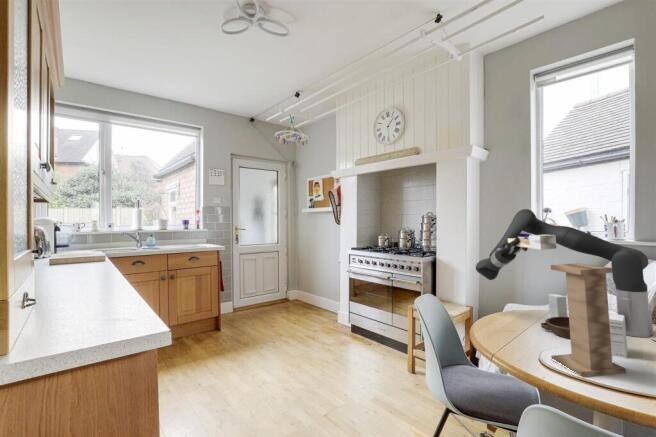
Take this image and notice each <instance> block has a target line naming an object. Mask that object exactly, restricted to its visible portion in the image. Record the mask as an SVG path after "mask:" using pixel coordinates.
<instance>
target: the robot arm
mask: <svg viewBox="0 0 656 437" xmlns="http://www.w3.org/2000/svg"><path fill="white" fill-rule="evenodd" d="M522 232H524V233H527V234H530V235H531V234H532V235H556V245H559V246H562V247H564V248H567V249H570V250H571V251H574V252H577V253H582V254H585V255H591V256H594V257H599V258H602V259H604V260H607V261H610V262H611V264H610V265H611V266H610V267H611V268H612V273H611V274H612V280H613V283H614V286H615V296H616V299H615V300H616V309H617V314H618V315H624V316H625V326H626V336H631V337H637V338H650V337H651V336H653V335H654V330H653V329H654V328H653V326H654V325H653V315H652V314H653V312H652V310H651V309H650V308H649V305H650V304H649V291H648V284H647V283H646V282H645V278H644V269H646V268H647V267H648V265H649V258H648V257H647V255H646V254H645V253H643V251H641V250H639V249H636V248H631V247H628V246H624V245H620V244H617V243H614V242H611V241H607V240H604V239H602V238H600V237H598V236H596V235H593V234H590V233H588V232H585V231H583V230H579V229H578V228H577V229H576V228H574V227H571V226H568V225H567V226H566V225H554V224H549V223H547V222H545V221H542V220H540V219H538V218H537V215H536V214H535V212H533V211H532V210H531V209H528V208H527V209H526V208H525V209H524V208H523V209H521V210H519V211H517V212H516V213H515V215H514V216H513V218H512V220H511V222H510V224H509V226H508V228H507V230H506V231H505V232H504V234H503V236H502V237H501V239H500V240H499V242H498V243H497V244H496V246H495V247H494V248H493V249H492V251H491V252H490V253H489V257H488V258H484V259H481V260H480V261H478V262H477V263H476V265H475V271H476V272H477V273H479V274H480V275H482V276H483V277H484V278H486V279H487V280H489V281H494V280H495V279H496V278H497V277H498V276H499V272H500V270H501V269H502V268H503V267H505V266H507V265H508V264H510V263H512V261H514V260H515V259H516V257H517V254H518V253H520V252H521V251H524V252H527V251H528V249H529V248H528V247H518V246H516V245H518V244H519V243H520V239H521V238H520V234H521V233H522ZM509 238H516V239H514V240H513V241H511V242H510V243H508V239H509ZM522 239H529V237H528V236H525V237H523V238H522Z"/></svg>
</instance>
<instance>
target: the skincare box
mask: <svg viewBox="0 0 656 437" xmlns="http://www.w3.org/2000/svg"><path fill="white" fill-rule="evenodd" d="M548 308H549V309H548V310H549V311H548V312H549V318H552V317H568V303H567V296H565V295H560V294H558V293H556V294H555V293H554V294H553V293H552V294H548Z"/></svg>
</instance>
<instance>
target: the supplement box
mask: <svg viewBox="0 0 656 437" xmlns="http://www.w3.org/2000/svg"><path fill="white" fill-rule="evenodd" d="M609 324H610V338H611V352H612V357H613V356H615V357H619V358H624V359H627V357H628V338H627V335H626V326H625V316H624V315H618V313H609Z"/></svg>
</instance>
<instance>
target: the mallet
mask: <svg viewBox="0 0 656 437" xmlns="http://www.w3.org/2000/svg"><path fill="white" fill-rule="evenodd" d="M514 239H516V238H509V239H508V243H510V242H511V241H513V240H514ZM519 239H520V243H519V244H518V245H516V246H518V247H528V249H530V250H531V249H533V250H552V249H553V250H557V243H556V235H534V234H532V235H531V234H530V235H529V236H528V239H523V238H519Z"/></svg>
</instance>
